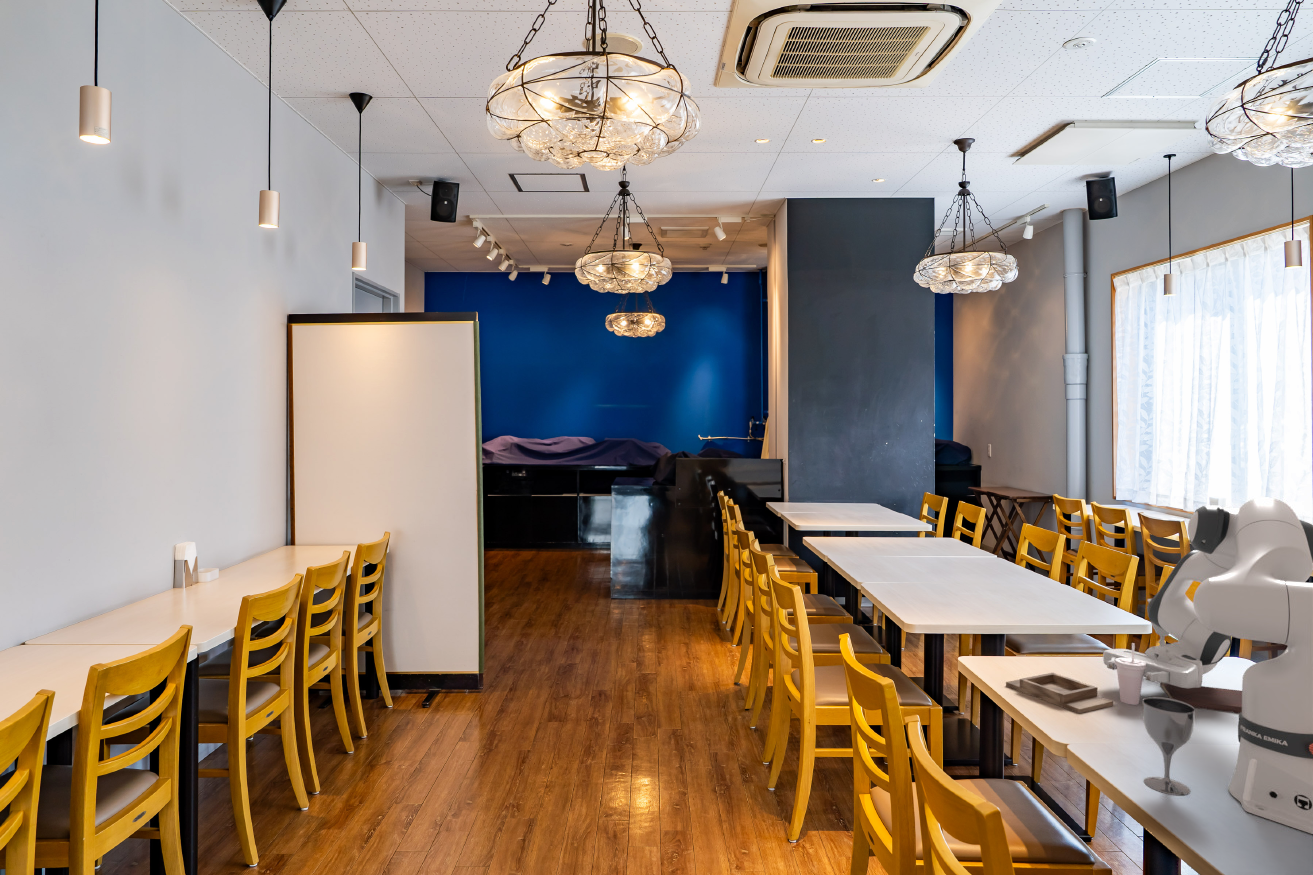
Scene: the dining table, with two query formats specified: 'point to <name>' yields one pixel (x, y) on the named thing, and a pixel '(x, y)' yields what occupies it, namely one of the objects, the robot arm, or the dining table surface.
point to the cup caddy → (1062, 692)
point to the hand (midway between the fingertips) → (1128, 671)
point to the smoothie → (1130, 678)
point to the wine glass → (1168, 736)
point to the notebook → (1207, 697)
